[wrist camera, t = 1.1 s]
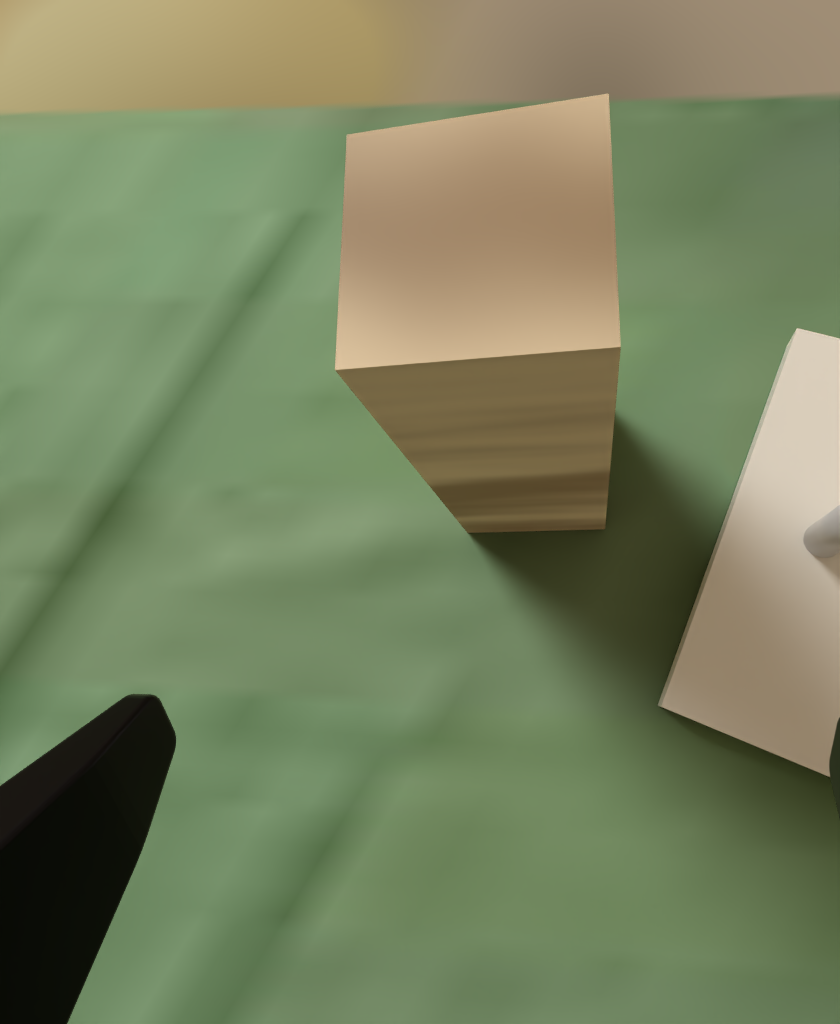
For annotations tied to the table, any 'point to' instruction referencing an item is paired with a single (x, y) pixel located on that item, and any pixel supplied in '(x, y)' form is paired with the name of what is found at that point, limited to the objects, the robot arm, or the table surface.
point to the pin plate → (775, 578)
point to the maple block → (488, 308)
